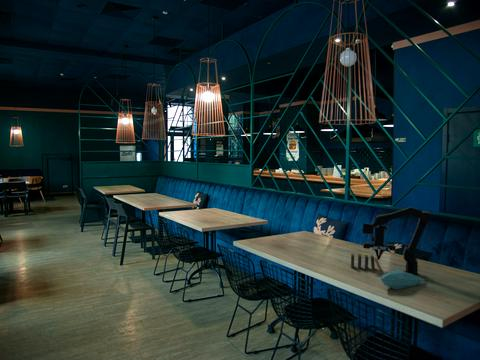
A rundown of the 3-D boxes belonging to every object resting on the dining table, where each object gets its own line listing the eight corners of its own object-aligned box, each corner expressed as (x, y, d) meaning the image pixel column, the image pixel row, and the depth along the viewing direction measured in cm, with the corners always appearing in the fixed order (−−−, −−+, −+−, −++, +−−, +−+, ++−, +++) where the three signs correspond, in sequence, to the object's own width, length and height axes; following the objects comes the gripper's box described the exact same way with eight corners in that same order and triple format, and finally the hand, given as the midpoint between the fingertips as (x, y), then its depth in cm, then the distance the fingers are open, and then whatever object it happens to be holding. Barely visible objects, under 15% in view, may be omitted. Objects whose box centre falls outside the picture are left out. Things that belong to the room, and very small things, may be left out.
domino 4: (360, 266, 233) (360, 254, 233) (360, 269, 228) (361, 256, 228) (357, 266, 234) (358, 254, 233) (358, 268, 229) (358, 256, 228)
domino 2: (374, 267, 231) (373, 255, 231) (374, 270, 226) (373, 257, 226) (371, 267, 231) (370, 255, 231) (372, 270, 227) (371, 257, 226)
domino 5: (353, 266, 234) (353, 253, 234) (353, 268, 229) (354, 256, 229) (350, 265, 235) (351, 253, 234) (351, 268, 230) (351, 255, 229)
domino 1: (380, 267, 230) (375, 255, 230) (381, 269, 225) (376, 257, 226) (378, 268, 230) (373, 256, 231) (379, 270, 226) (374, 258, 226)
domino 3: (367, 267, 232) (367, 255, 232) (367, 269, 227) (368, 257, 227) (364, 267, 232) (365, 254, 232) (365, 269, 228) (365, 256, 227)
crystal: (427, 292, 204) (435, 278, 200) (382, 292, 190) (390, 277, 186) (414, 280, 212) (422, 267, 209) (370, 280, 198) (378, 265, 194)
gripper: (393, 233, 232) (392, 257, 233) (362, 231, 237) (361, 255, 238) (396, 237, 221) (395, 262, 222) (364, 235, 226) (363, 259, 227)
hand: (378, 259), depth 228 cm, fingers closed
